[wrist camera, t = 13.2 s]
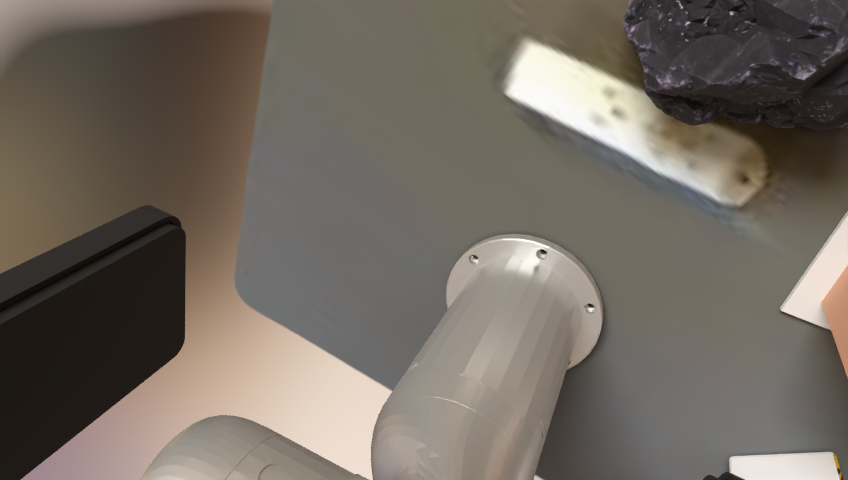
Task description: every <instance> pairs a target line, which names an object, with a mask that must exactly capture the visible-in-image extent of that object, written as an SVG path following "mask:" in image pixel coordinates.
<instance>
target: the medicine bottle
mask: <svg viewBox="0 0 848 480" xmlns="http://www.w3.org/2000/svg"><path fill="white" fill-rule="evenodd" d="M729 471H730V473H732V474H734V475H736V476H738V477H740V478H743V479H745V480H843V477H842V473H841V470H840V466H839V463H838V459H837V456H836V455H835V454H834V453H833V452H812V453H791V454H769V455H747V456H732V457H730V458H729Z"/></svg>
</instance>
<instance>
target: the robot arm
mask: <svg viewBox="0 0 848 480" xmlns="http://www.w3.org/2000/svg"><path fill="white" fill-rule="evenodd" d="M185 243H186V236H185V232H184V230H183V229H182V228H181V223H180V221H179V219H178V218H176V217H174V216H172V215H170V214H168V213H166V212H164V211H162V210H159V209H157V208H155V207H153V206H149V205H146V206H142V207H139V208H137V209H135V210H133V211H131V212H129V213H127V214H125V215H123V216H120V217H118V218H116V219H114V220H112V221H110V222H108V223H106V224H104V225H102V226H100V227H97V228H95V229H93V230H91V231H89V232H87V233H85V234H83V235H81V236H79V237H77V238H74V239H72V240H70V241H68V242H66V243H64V244H62V245H60V246H58V247H56V248H54V249H51V250H49V251H47V252H45V253H43V254H41V255H39V256H37V257H35V258H33V259H30V260H28V261H26V262H24V263H22V264H20V265H18V266H16V267H14V268H12V269H10V270H7V271H5V272H3V273H1V274H0V480H20V479H22V478H23V477H24V476H25V475H26V474H28V473H29V472H31V471H32V470H33V469H34V468H35V467H37V466H38V465H39V464H41V463H42V462H43V461H44V460H45V459H47V458H48V457H49V456H51V455H52V454H53V453H54V452H56V451H57V450H58V449H59V448H61V447H62V446H63V445H64V444H66V443H67V442H68V441H70V440H71V439H72V438H73V437H75V436H76V435H77V434H78V433H80V432H81V431H82V430H83V429H85V428H86V427H87V426H88V425H90V424H91V423H92V422H93V421H95V420H96V419H97V418H98V417H100V416H101V415H102V414H103V413H105V412H106V411H107V410H108V409H110V408H111V407H112V406H113V405H115V404H116V403H117V402H119V401H120V400H121V399H122V398H123V397H125V396H126V395H127V394H129V393H130V392H131V391H132V390H134V389H135V388H136V387H137V386H139V385H140V384H141V383H142V382H144V381H145V380H146V379H147V378H149V377H150V376H151V375H152V374H154V373H155V372H156V371H158V370H159V369H160V368H161V367H163V366H164V365H165V364H166V363H168V362H169V361H170V360H171V359H172V358H174V357H175V356H176V355H177V354H178V352H179V351H180V350H181V348H182V346H183V343H184V339H185V252H186V250H185V249H186V244H185ZM542 249H543V250H545V251H547V252H543V251H542ZM475 255H476V256H477V257H476V256H475ZM446 302H447V309H448V310H447V312H446V313H445V315H444V316H443V318H442V319H441V321H440V322H439V324H438V325H437V326H436V328H435V329H434V331H433V332H432V334H431V335H430V337H429V338H428V340H427V341H426V343H425V344H424V346H423V347H422V349H421V350H420V352H419V353H418V355H417V356H416V357H415V359H414V360H413V362H412V363H411V365H410V366H409V368H408V369H407V371H406V372H405V374H404V375H403V377H402V378H401V380H400V381H399V383H398V384H397V386H396V387H395V388H394V390H393V392H392V393H391V395H390V396H389V398H388V399H387V401H386V402H385V404H384V405H383V407H382V409H381V411H380V413H379V415H378V418H377V421H376V424H375V427H374V431H373V437H372V444H371V465H372V475H373V480H534V476H535V473H536V469H537V465H538V462H539V458H540V455H541V452H542V448H543V445H544V442H545V439H546V435H547V432H548V429H549V426H550V422H551V419H552V416H553V413H554V409H555V406H556V403H557V399H558V396H559V393H560V390H561V386H562V383H563V380H564V377H565V373H566V370H568V369H570V368H572V367H573V366H575V365H577V364H579V363H580V362H581V361H582V360H583V359H584V358H586V357H587V356H588V355H589V354H590V352H591V351H592V349H593V348H594V346H595V345H596V343H597V340H598V337H599V335H600V332H601V328H602V323H603V303H602V299H601V295H600V291H599V289H598V287H597V285H596V283H595V281H594V279H593V277H592V276H591V274H590V273H589V272H588V270H587V269H586V268H585V266H584V265H583V264H582V263H581V262H580V261H579V260H577V259H576V258H575V257H574V256H573V255H572V254H571V253H569V252H568V251H566V250H565V249H563V248H562V247H560V246H558V245H556V244H554V243H552V242H549V241H547V240H545V239H542V238H538V237H534V236H530V235H521V234H506V235H498V236H494V237H491V238H487V239H484V240H483V241H481V242H479V243H477V244H475V245H473V246H472V247H471V248H470V249H468V250H467V251H466V252H465V253H464V254H463V255H462V256H461V258H460V259H459V260H458V261H457V263H456V264H455V266H454V268H453V269H452V271H451V273H450V276H449V279H448V282H447V288H446ZM590 304H593V305H590ZM140 480H368V479H366V478H364V477H362V476H360V475H359V474H353V473H351V472H349V471H347V470H345V469H344V468H342V467H340V466H338V465H336V464H334V463H332V462H331V461H329V460H327V459H325V458H323V457H321V456H319V455H318V454H316V453H314V452H312V451H310V450H308V449H306V448H305V447H303V446H301V445H299V444H297V443H295V442H293V441H291V440H290V439H288V438H285V437H284V436H282V435H280V434H278V433H276V432H274V431H272V430H271V429H269V428H267V427H264V426H263V425H260V424H258V423H256V422H253V421H251V420H248V419H245V418H241V417H237V416H227V415H219V416H213V417H208V418H205V419H203V420H200V421H199V422H196V423H194V424H192V425H190V426H189V427H187V428H186V429H185V430H183V431H182V432H180V433H179V434H178V435H177V436H176V437H174V438H173V439H172V440H171V441H170V442H169V443H168V444H167V445H166V446H165V447H164V448H163V449H162V451H161V452H160V453H159V454H158V455H157V456H156V458H155V459H154V460H153V462H152V463H151V464H150V466H149V467H148V468H147V470H146V471H145V472H144V474H143V476H142V477H141V479H140ZM703 480H745V479H743V478H740V477H738V476H736V475H734V474H732V473H729V472H726V473H724V474H722V475H721V476H720V477H719V478H716V477H714V476H712V475H708V476H706V477H705V478H704V479H703Z"/></svg>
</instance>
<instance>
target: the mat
mask: <svg viewBox="0 0 848 480" xmlns="http://www.w3.org/2000/svg"><path fill="white" fill-rule="evenodd" d="M847 265H848V211H847V212H846V214H845V215H844V217H843V218H842V219H841V221H840V222H839V224H838V225H837V227H836V228H835V230H834V231H833V232H832V234H831V235H830V237H829V238H828V240H827V241H826V242H825V244H824V245H823V247H822V248H821V250H820V251H819V252H818V254H817V255H816V257H815V258H814V260H813V261H812V263H811V264H810V265H809V267H808V268H807V270H806V271H805V273H804V274H803V275H802V277H801V278H800V280H799V281H798V283H797V284H796V285H795V287H794V288H793V290H792V291H791V293H790V294H789V296H788V297H787V298H786V300H785V301H784V303H783V304H782V306H781V307H780V309H781V311H783V312H786V313H788V314H791V315H793V316H796V317H798V318H801V319H803V320H806V321H808V322H811V323H814V324H816V325H819V326H821V327H824V328H826V329H829V330H831V328H830V325H829V322H828V319H827V316H826V313H825V310H824V308H823V305H822V300H823V299H824V298H825V296H826V295H827V293H828V292H829V291H830V289H831V288H832V286H833V285H834V284H835V282H836V281H837V279H838V278H839V276H840V275H841V274H842V272H843V271H844V269H845V268H846V267H847Z"/></svg>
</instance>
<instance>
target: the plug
mask: <svg viewBox="0 0 848 480" xmlns="http://www.w3.org/2000/svg"><path fill="white" fill-rule="evenodd" d="M822 305H823V308H824V310H825V313H826V316H827V319H828V322H829V325H830V328H831V331H832V334H833V337H834V340H835V343H836V346H837V348H838V351H839V354H840V357H841V360H842V363H843V366H844V369H845V372H846V375H847V378H848V265H847V267H846V268H845V269H844V271H843V272H842V274H841V275H840V276H839V278H838V279H837V281H836V282H835V284H834V285H833V286H832V288H831V289H830V291H829V292H828V293H827V295H826V296H825V298H824V299H823V300H822Z"/></svg>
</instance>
